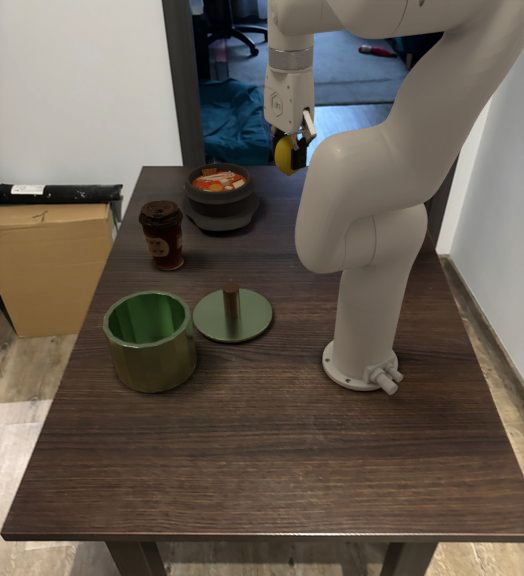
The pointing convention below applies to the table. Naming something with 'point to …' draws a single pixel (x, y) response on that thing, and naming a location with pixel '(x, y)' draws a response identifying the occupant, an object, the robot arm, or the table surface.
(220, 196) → the casserole
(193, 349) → the tin
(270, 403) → the table surface
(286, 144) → the lemon
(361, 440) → the table surface
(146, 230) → the coffee cup
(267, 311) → the tin lid
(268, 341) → the table surface
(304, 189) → the robot arm
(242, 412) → the table surface
